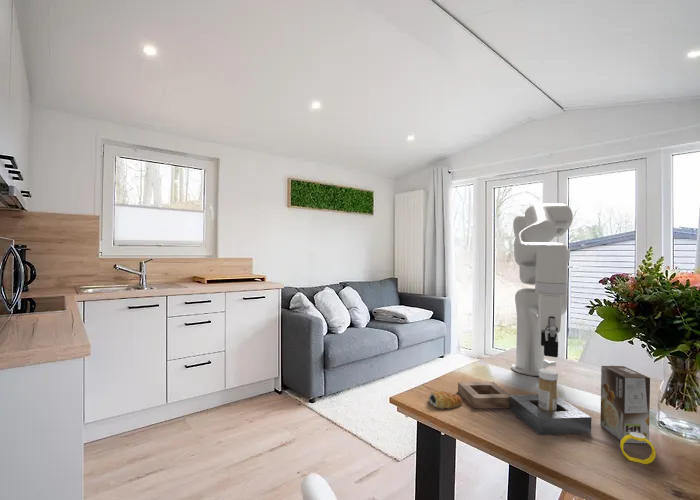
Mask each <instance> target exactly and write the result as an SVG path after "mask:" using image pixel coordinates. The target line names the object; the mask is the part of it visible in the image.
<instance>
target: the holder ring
mask: <svg viewBox="0 0 700 500" xmlns="http://www.w3.org/2000/svg"><path fill="white" fill-rule="evenodd" d="M457 385H458V386H457V392H458V393H459V394H460V395H461V396H462V397H463V398H464V400H465V401H467V402H468V404H469V405H471V407H472V408H474V409H502V408H503V409H504V408H506V409H507V408H508V409H509V395H511V394H510V393H509V392H508V391H506V390H505V389H504V388H503V387H502V386H500V385H498V384H497V383H496V382H494V381H469V382H468V381H467V382H464V381H463V382H462V381H461V382H458V383H457Z"/></svg>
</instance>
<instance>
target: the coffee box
mask: <svg viewBox="0 0 700 500" xmlns="http://www.w3.org/2000/svg"><path fill="white" fill-rule="evenodd" d="M600 369H601V371H600V372H601V373H600V375H601V376H600V378H601V379H600V381H601V382H600V419H599V420H600V422H599V423H600V427H602V428H604V429H605V430H606V431H608V432H609V433H610V434H612V436H614V437H615V438H617V439H618V440H619V441H621V439H622V438H623V437H624V436H626V435H629V434H630V432H637V433H641V434H643V435H644V436H645V437H646V439H647V440H649V441H650V417H651V416H650V413H651V412H650V402H651V377H649V376H646V375H645V374H642V373H641V372H638V371H635V370H634V369H632V368H628V367H627V366H625V365H624V366H623V365H601V367H600ZM643 443H644V445H645V444H646V443H647V442H645V441H638V440H635V439H628V440H627V441H626V442H625V443H624V444H643ZM646 445H649V444H648V443H647V444H646Z"/></svg>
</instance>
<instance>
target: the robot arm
mask: <svg viewBox="0 0 700 500" xmlns="http://www.w3.org/2000/svg"><path fill="white" fill-rule="evenodd" d="M573 216H574V215H573V211H572V208H571V207H570V206H569V205H567V204H564V203H542V204H541V203H540V204H539V203H537V204H533V205H531V206H529V207H527V208H526V209H525V212H524V214H519V215H518V216H516V217H514V219H513V223H512V226H513V227H512V228H513V234H514V237H515V238H514V241H513V242H514V243H513V253H514V254H513V255H514V261H515V262H516V265H517V266H519V271H518V272H519V280H520V281H521V283H522V284H523V285H524V284H525V285H530V286H534V288H531V287H530V288H528V287H527V288H525V287H524V288H521V289H519V290H517V291H516V292H515V296H514V301H515V310H516V346H515V347H516V351H515V355H516V356H515V362H514V363H512V364H511V369H512V371H514V372H517V373H519V374H521V375H527V376H532V377H539V369H548V367H552V368H553V367H557V363H556V362H555V361H549V360H548V359H547V360H546V359H545V357H550V358H559V339H558V334H559V333H561V325H562V323H561V322H562V316H563V315H565V314H566V312H567V309H568V264H569V262H570V258H571V254H570V253H571V252H570V248H568V246H567V245H566V244H565V243H562V242H551V241H552V240H554V238H557V237H562V236H564V235H565V233H566V232H567V231H569V229H570V227H571V225H572V223H573Z"/></svg>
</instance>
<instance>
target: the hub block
mask: <svg viewBox="0 0 700 500" xmlns="http://www.w3.org/2000/svg"><path fill="white" fill-rule="evenodd" d="M508 410H509V411H511V412H512V413H513V414H514V415H515V416H517V417H518V418H519V419H520V420H522V422H524V423H525V424H526V425H527V426H529V428H531V429H532V430H534V431H535V433H537V434H538V435H565V434H567V435H569V434H590V433H592V418H593V417H592V416H590V415H589V414H587V413H585V412H584V411H583V410H581V409H579V408H578V407H576V406H574V405H572V404H570V403H569V402H568V401H566V400H564V399H563V398H561V397H560V396H558V395H557V409H556V412H543V411H542V410H541V409H539V394H524V395H523V394H522V395H521V394H519V395H518V394H515V395H514V394H513V395H511V394H510V395H509V408H508Z"/></svg>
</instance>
